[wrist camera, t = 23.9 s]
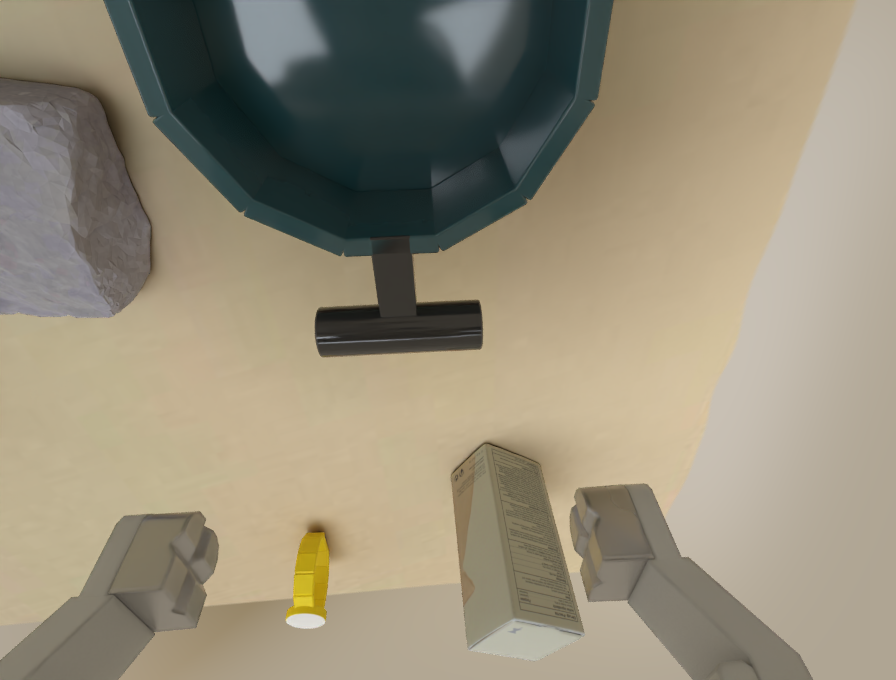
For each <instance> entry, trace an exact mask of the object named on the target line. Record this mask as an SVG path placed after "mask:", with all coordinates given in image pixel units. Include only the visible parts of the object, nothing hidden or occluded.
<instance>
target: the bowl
mask: <svg viewBox="0 0 896 680" xmlns="http://www.w3.org/2000/svg"><path fill="white" fill-rule="evenodd" d="M103 1H104V3H105V6H106V8H107V11H108V13H109V16H110V19H111V21H112V24H113V26H114V29H115V31H116V34H117V36H118V39H119V41H120V44H121V47H122V49H123V52H124V54H125V57H126V59H127V62H128V64H129V67H130V70H131V72H132V75H133V77H134V80H135V82H136V85H137V87H138V90H139V92H140V95H141V98H142V100H143V103H144V105H145V108H146V110H147V113H148V115H149V116H150V117H156V118H155V119H154V120H153V123H154V124H155V125H156V127H157V128H158V129H159V130H160V131H161V132H162V133H163V134H164V135H165V136H166V137H167V138H168V139H169V140H170V141H171V142H172V143H173V144H174V145H175V146H176V147H177V148H178V149H179V150H180V151H181V152H182V153H183V154H184V156H185V157H186V158H187V159H188V160H189V161H190V162H191V163H192V164H193V165H194V166H195V167H196V168H197V169H198V170H199V171H200V172H201V173H202V174H203V175H204V176H205V177H206V178H207V179H208V180H209V181H210V182H211V183H212V184H213V186H214V187H215V188H216V189H217V190H218V191H219V192H220V193H221V194H222V195H223V196H224V197H225V198H226V199H227V200H228V201H229V202H230V203H231V204H232V205H233V206H234V207H235V208H236V209H237V210H238V211H239V212H243V211H245V212H244V216H245V217H248V218H250V219H252V220H255V221H257V222H259V223H262V224H264V225H267V226H269V227H271V228H274V229H276V230H279V231H281V232H283V233H286V234H288V235H290V236H293V237H295V238H298V239H300V240H302V241H305V242H307V243H310V244H312V245H314V246H317V247H319V248H321V249H324V250H326V251H329V252H331V253H333V254H336V255H338V256H341V255H342V253H343V252H344V255H345V256H346V257H352V256H372V263H373V270H374V277H375V284H376V291H377V298H378V304H374V305H353V306H333V307H320V308H318V310H317V312H316V317H315V339H316V345H317V349H318V352H319V354H320V356H321V357H343V356H363V355H382V354H402V353H422V352H441V351H461V350H480V349H481V348H482V345H483V321H482V310H481V304H480V301H479V300H457V301H436V302H417V296H416V283H415V270H414V257H413V254H418V253H437V252H439V247H440V249H441V250H442V251H444V250H446V249H448V248H450V247H451V246H453V245H455V244H457V243H459V242H460V241H462V240H464V239H466V238H467V237H469V236H471V235H473V234H474V233H476V232H478V231H480V230H481V229H483V228H485V227H487V226H489V225H490V224H492V223H494V222H496V221H497V220H499V219H501V218H503V217H504V216H506V215H508V214H510V213H512V212H513V211H515V210H517V209H519V208H520V207H522V206H524V205H526V204H527V199H529V200H531V199H532V198H533V196H534V195H535V194H536V192H537V191H538V189H539V188H540V186H541V185H542V183H543V182H544V180H545V179H546V177H547V176H548V174H549V173H550V171H551V170H552V168H553V167H554V165H555V164H556V162H557V161H558V160H559V158H560V157H561V155H562V154H563V152H564V151H565V149H566V148H567V146H568V145H569V143H570V142H571V140H572V139H573V137H574V136H575V134H576V133H577V131H578V130H579V128H580V127H581V126H582V124H583V123H584V121H585V120H586V118H587V117H588V115H589V114H590V112H591V111H592V109H593V108H594V106H595V104H594V102H592V100H597V98H598V95H599V88H600V82H601V76H602V70H603V64H604V57H605V51H606V45H607V39H608V33H609V26H610V20H611V14H612V8H613V1H614V0H103ZM526 198H527V199H526Z"/></svg>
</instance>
